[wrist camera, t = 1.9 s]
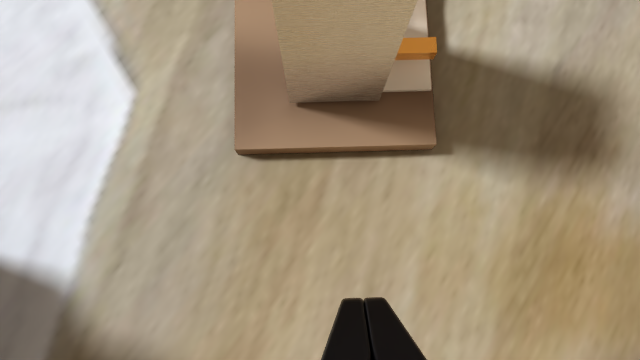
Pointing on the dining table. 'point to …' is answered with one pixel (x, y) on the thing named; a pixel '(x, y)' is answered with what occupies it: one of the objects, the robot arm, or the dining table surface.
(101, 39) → the dining table surface
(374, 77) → the pale grey block
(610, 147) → the dining table surface
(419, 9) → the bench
